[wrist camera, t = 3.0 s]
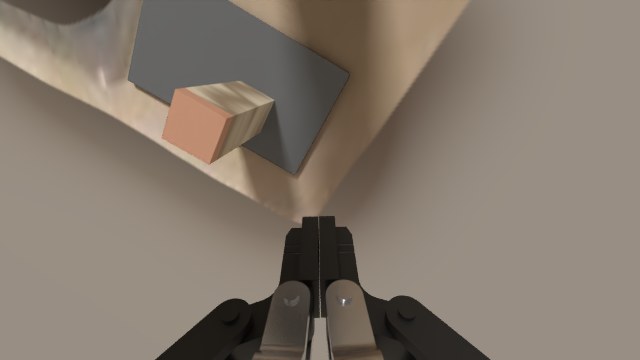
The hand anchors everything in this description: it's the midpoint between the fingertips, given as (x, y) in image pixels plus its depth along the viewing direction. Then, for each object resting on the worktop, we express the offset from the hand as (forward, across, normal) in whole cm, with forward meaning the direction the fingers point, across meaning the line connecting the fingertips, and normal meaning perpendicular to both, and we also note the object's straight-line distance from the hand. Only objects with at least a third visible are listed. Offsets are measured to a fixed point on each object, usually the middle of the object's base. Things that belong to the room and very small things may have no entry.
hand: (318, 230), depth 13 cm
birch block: (+23, +8, +1) cm, 25 cm away
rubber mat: (+24, +10, -2) cm, 27 cm away
